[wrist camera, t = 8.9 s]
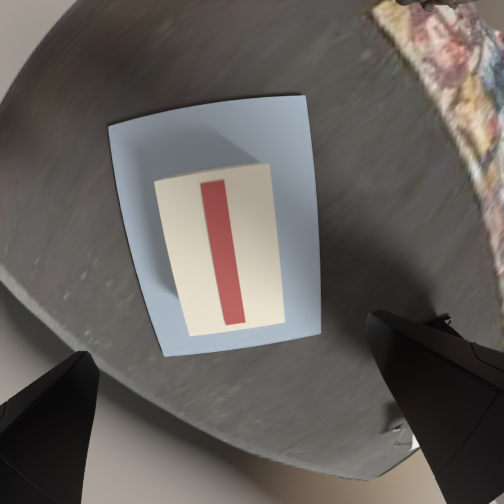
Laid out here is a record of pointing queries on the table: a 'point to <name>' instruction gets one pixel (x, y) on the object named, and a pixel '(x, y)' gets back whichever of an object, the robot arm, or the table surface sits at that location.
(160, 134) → the mat
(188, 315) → the card box
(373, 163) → the table surface
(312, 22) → the table surface
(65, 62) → the table surface
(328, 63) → the table surface
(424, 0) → the rhino figurine
